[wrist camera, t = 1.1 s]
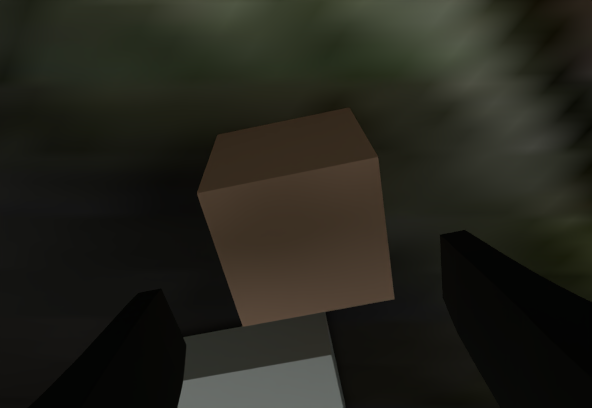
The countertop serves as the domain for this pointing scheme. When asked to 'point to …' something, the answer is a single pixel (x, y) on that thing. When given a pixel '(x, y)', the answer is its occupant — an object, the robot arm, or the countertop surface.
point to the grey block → (263, 367)
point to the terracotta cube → (298, 217)
